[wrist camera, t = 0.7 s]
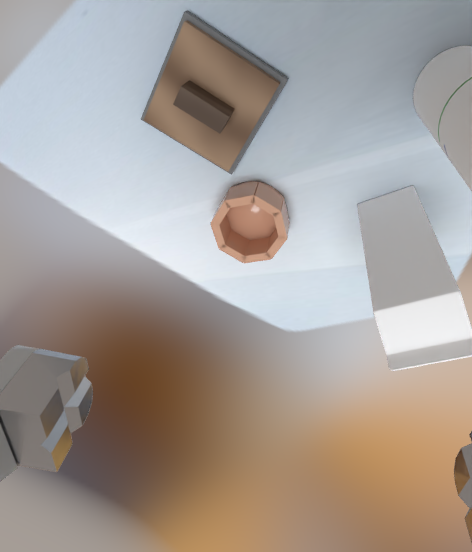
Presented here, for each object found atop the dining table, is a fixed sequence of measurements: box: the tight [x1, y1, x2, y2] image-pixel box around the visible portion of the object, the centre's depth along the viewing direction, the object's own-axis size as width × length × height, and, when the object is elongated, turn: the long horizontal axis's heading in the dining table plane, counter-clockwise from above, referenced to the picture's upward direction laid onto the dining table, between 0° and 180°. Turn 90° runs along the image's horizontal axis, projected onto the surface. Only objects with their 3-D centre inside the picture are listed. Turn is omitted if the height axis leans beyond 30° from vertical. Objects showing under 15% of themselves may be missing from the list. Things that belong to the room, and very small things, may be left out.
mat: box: [141, 11, 288, 174], centre depth 43 cm, size 11×11×1 cm
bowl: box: [211, 181, 290, 263], centre depth 48 cm, size 8×8×5 cm
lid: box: [144, 21, 280, 171], centre depth 41 cm, size 10×10×4 cm
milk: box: [357, 186, 472, 371], centre depth 38 cm, size 6×6×22 cm
